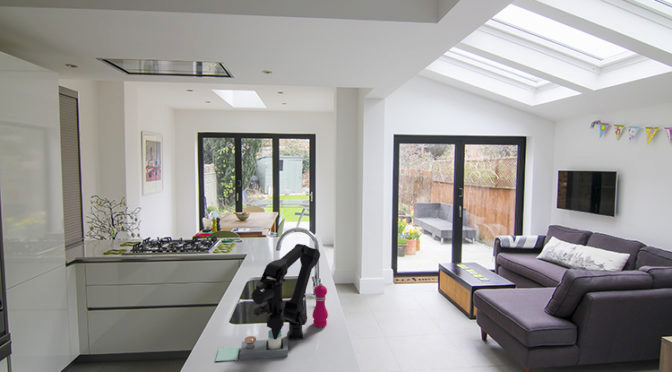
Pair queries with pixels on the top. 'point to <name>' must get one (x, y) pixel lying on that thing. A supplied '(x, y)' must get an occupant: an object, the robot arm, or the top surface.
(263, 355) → the housing
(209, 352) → the top surface
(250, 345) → the plunger
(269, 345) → the cylinder
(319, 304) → the pepper mill
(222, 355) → the mat
